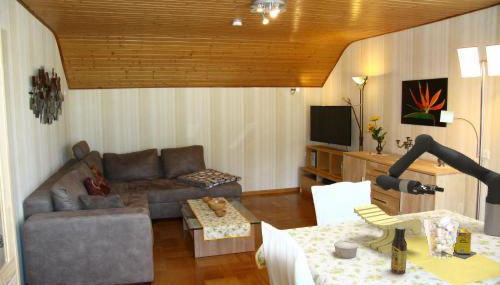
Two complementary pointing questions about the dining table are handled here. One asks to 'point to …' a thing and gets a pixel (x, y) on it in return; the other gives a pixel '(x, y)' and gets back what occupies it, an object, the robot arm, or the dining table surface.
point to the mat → (464, 255)
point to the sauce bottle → (399, 251)
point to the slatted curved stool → (385, 226)
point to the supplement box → (463, 242)
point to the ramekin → (346, 249)
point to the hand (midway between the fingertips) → (439, 191)
